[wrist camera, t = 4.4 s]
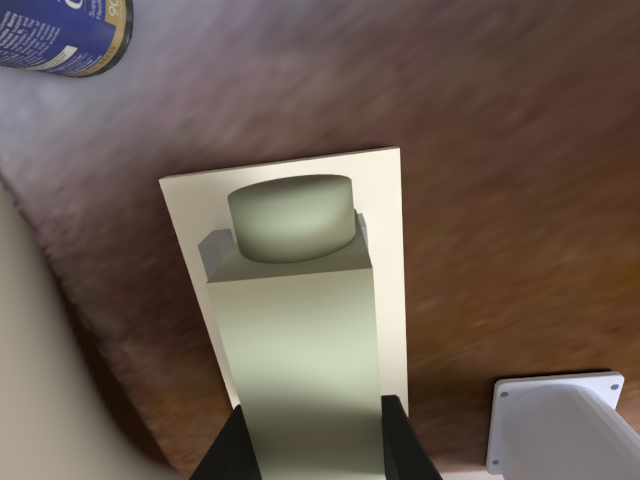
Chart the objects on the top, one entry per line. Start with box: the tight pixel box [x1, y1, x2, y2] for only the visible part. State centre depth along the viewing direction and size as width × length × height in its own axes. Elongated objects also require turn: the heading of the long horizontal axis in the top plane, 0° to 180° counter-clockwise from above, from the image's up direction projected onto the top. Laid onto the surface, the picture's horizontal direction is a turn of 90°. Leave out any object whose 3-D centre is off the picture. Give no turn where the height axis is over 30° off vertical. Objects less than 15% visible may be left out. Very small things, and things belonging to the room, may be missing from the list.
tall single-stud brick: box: [205, 174, 386, 480], centre depth 11 cm, size 14×4×5 cm, turn 7°
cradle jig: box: [159, 146, 408, 417], centre depth 18 cm, size 18×12×3 cm, turn 7°
